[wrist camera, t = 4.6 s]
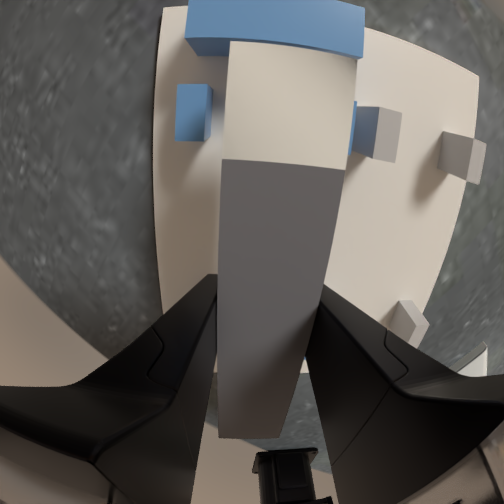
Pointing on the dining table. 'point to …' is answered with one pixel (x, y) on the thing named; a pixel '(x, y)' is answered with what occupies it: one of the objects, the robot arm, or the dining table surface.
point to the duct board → (358, 160)
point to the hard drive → (473, 362)
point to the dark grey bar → (275, 222)
